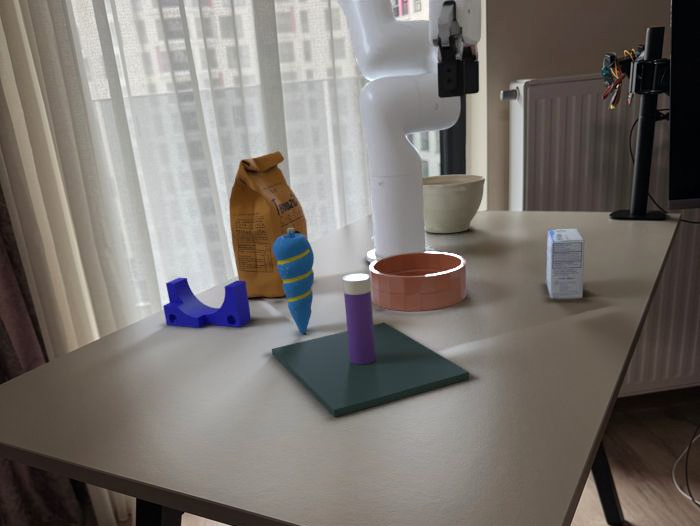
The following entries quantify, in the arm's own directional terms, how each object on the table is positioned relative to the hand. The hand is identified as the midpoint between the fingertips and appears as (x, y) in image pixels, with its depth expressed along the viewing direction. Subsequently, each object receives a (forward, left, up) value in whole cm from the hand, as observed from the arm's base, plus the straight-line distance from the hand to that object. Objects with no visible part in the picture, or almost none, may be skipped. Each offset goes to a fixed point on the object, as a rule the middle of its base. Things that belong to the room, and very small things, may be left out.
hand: (459, 95), depth 84 cm
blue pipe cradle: (-16, -34, -28) cm, 47 cm away
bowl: (-6, -4, -28) cm, 29 cm away
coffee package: (-25, -20, -28) cm, 43 cm away
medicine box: (+5, +14, -28) cm, 32 cm away
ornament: (-3, -24, -28) cm, 37 cm away
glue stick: (+12, -22, -28) cm, 37 cm away
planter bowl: (-45, +26, -28) cm, 59 cm away
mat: (+12, -22, -28) cm, 38 cm away
